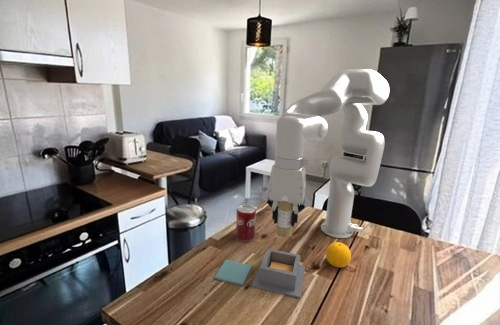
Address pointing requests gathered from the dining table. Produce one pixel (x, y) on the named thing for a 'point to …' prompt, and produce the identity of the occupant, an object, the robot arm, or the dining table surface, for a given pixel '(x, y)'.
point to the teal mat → (233, 272)
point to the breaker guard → (280, 274)
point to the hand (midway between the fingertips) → (284, 222)
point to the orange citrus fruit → (338, 254)
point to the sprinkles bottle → (284, 218)
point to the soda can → (245, 223)
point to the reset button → (281, 266)
